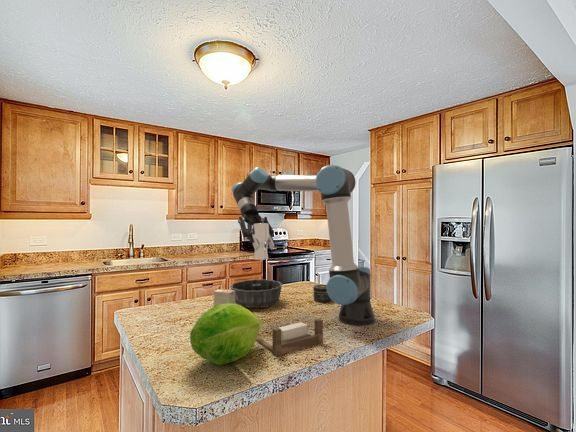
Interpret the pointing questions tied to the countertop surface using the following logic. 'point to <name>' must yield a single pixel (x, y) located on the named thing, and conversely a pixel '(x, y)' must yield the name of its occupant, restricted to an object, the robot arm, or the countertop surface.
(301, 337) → the offcut lower
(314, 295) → the jar
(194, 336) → the lettuce
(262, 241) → the beer glass
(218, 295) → the supplement box
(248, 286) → the bundt pan
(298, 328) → the offcut upper
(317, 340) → the rack
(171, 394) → the countertop surface
